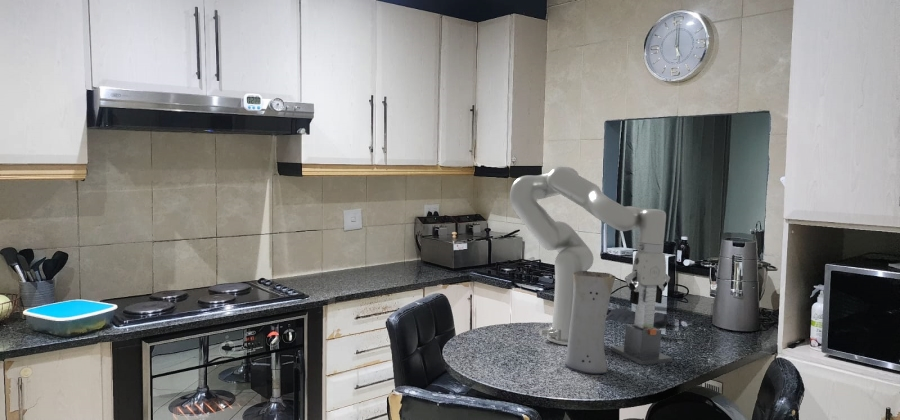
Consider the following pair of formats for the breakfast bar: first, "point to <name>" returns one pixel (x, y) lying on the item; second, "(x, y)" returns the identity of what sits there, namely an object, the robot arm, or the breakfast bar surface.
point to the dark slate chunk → (629, 317)
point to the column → (645, 308)
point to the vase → (589, 322)
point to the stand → (642, 346)
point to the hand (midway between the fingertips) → (645, 302)
